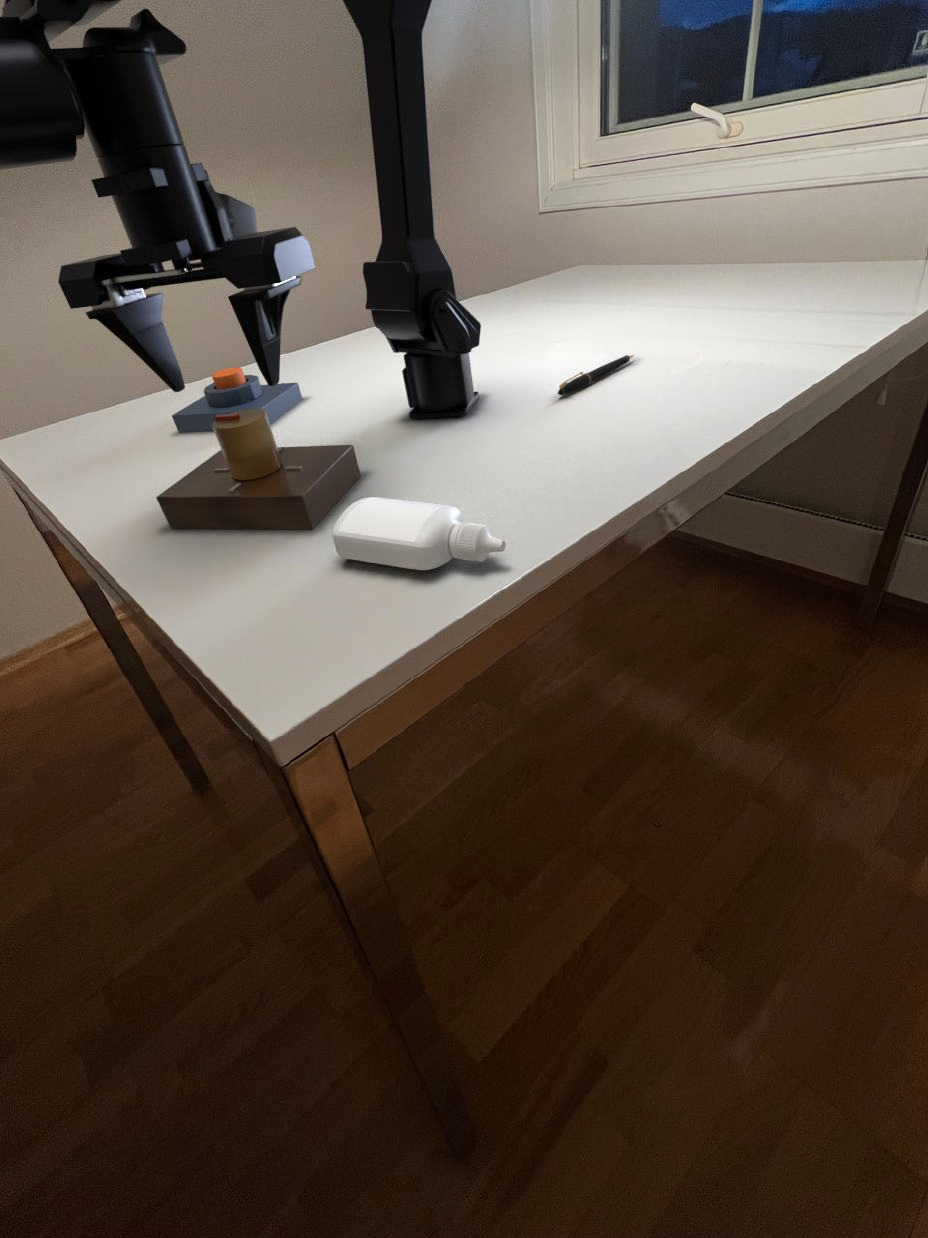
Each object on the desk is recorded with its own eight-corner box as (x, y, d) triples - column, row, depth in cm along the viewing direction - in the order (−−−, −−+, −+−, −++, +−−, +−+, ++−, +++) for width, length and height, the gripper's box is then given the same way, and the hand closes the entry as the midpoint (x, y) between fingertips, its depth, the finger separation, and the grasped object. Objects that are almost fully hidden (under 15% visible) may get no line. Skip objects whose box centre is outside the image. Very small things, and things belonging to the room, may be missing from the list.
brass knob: (291, 458, 55) (274, 403, 53) (266, 480, 52) (246, 423, 49) (248, 459, 57) (229, 406, 54) (221, 480, 53) (199, 425, 51)
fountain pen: (630, 359, 74) (631, 346, 73) (639, 360, 74) (639, 346, 73) (553, 399, 67) (552, 384, 66) (562, 400, 66) (561, 386, 66)
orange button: (252, 380, 77) (247, 366, 76) (236, 390, 75) (231, 375, 74) (227, 382, 78) (222, 368, 77) (211, 392, 76) (205, 377, 75)
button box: (303, 399, 81) (293, 367, 78) (263, 429, 73) (251, 394, 71) (223, 404, 84) (212, 373, 82) (178, 433, 77) (164, 400, 74)
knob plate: (361, 475, 58) (352, 442, 56) (313, 529, 50) (301, 493, 49) (232, 477, 62) (220, 447, 60) (170, 528, 55) (154, 495, 53)
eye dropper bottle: (330, 494, 43) (487, 511, 38) (378, 497, 48) (523, 512, 43) (327, 558, 44) (480, 583, 39) (374, 554, 49) (516, 576, 44)
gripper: (318, 125, 46) (367, 351, 55) (115, 166, 51) (191, 365, 60) (233, 128, 37) (308, 394, 46) (2, 177, 43) (110, 406, 52)
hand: (226, 387), depth 52 cm, fingers open, 9 cm apart
